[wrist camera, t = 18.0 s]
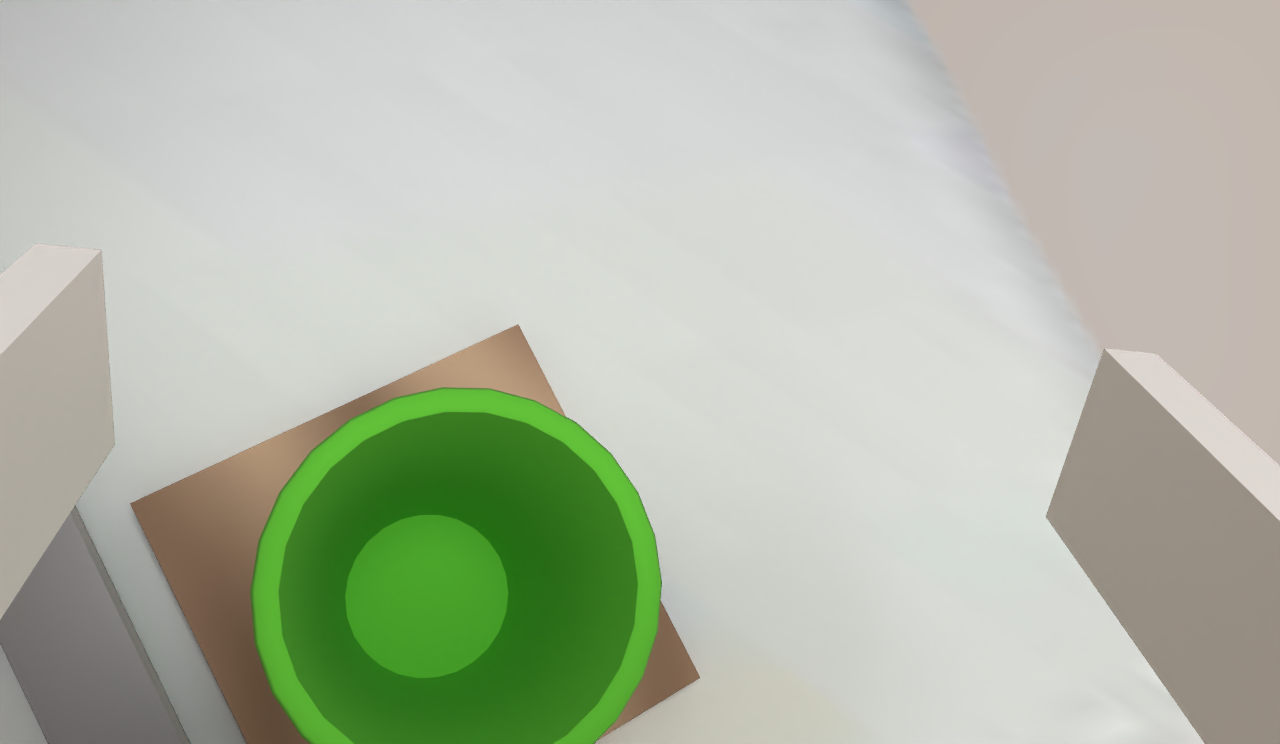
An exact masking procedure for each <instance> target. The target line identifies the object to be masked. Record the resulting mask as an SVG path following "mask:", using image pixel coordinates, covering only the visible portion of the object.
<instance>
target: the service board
mask: <svg viewBox="0 0 1280 744" xmlns="http://www.w3.org/2000/svg"><path fill="white" fill-rule="evenodd" d="M441 387H449V388H490V389H494V390H498V391H501V392H505V393H509V394H513V395H517V396H520V397H524V398H528V399H532V400H535V401H537V402H539V403H541V404H543V405H545V406H547V407H548V408H550V409H552V410H554V411H556V412H558V413H560V414H561V415H563V416H565V414H564V412H563V410H562V408H561V406H560V404H559V402H558V401H557V399H556V397H555V395H554V393H553V391H552V389H551V387H550V385H549V383H548V381H547V379H546V377H545V375H544V373H543V371H542V369H541V368H540V366H539V364H538V362H537V360H536V358H535V356H534V354H533V352H532V350H531V348H530V346H529V344H528V342H527V340H526V338H525V336H524V335H523V333H522V331H521V329H520V327H519V325H516V326H514V327H512V328H509V329H507V330H505V331H503V332H501V333H499V334H496V335H494V336H492V337H490V338H488V339H486V340H483V341H481V342H479V343H477V344H475V345H473V346H470V347H468V348H466V349H464V350H462V351H460V352H457V353H455V354H453V355H451V356H449V357H447V358H444V359H442V360H440V361H438V362H436V363H434V364H431V365H429V366H427V367H425V368H423V369H421V370H418V371H416V372H414V373H412V374H410V375H408V376H405V377H403V378H401V379H399V380H397V381H395V382H392V383H390V384H388V385H386V386H384V387H382V388H379V389H377V390H375V391H373V392H371V393H369V394H366V395H364V396H362V397H360V398H358V399H356V400H353V401H351V402H349V403H347V404H345V405H343V406H340V407H338V408H336V409H334V410H332V411H330V412H327V413H325V414H323V415H321V416H319V417H317V418H314V419H312V420H310V421H308V422H306V423H304V424H301V425H299V426H297V427H295V428H293V429H291V430H288V431H286V432H284V433H282V434H280V435H278V436H275V437H273V438H271V439H269V440H267V441H265V442H262V443H260V444H258V445H256V446H254V447H252V448H249V449H247V450H245V451H243V452H241V453H239V454H236V455H234V456H232V457H230V458H228V459H226V460H223V461H221V462H219V463H217V464H215V465H213V466H210V467H208V468H206V469H204V470H202V471H200V472H197V473H195V474H193V475H191V476H189V477H187V478H184V479H182V480H180V481H178V482H176V483H174V484H171V485H169V486H167V487H165V488H163V489H161V490H158V491H156V492H154V493H152V494H150V495H148V496H145V497H143V498H141V499H139V500H137V501H135V502H132V503H130V504H131V506H132V509H133V511H134V513H135V515H136V517H137V519H138V521H139V523H140V525H141V527H142V529H143V531H144V533H145V535H146V537H147V539H148V541H149V543H150V545H151V547H152V550H153V552H154V554H155V556H156V558H157V560H158V562H159V564H160V566H161V568H162V570H163V572H164V574H165V576H166V578H167V580H168V582H169V584H170V586H171V589H172V591H173V593H174V595H175V597H176V599H177V601H178V603H179V605H180V607H181V609H182V611H183V613H184V615H185V617H186V619H187V621H188V623H189V625H190V627H191V630H192V632H193V634H194V636H195V638H196V640H197V642H198V644H199V646H200V648H201V650H202V652H203V654H204V656H205V658H206V660H207V662H208V664H209V666H210V668H211V671H212V673H213V675H214V677H215V679H216V681H217V683H218V685H219V687H220V689H221V691H222V693H223V695H224V697H225V699H226V701H227V703H228V705H229V707H230V709H231V712H232V714H233V716H234V718H235V720H236V722H237V724H238V726H239V728H240V730H241V732H242V734H243V736H244V738H245V740H246V742H247V744H309V743H308V742H307V741H306V740H305V739H304V738H302V737H301V735H300V734H299V732H298V731H297V729H296V728H295V726H294V725H293V723H292V722H291V720H290V719H289V718H288V716H287V715H286V713H285V712H284V710H283V709H282V707H281V706H280V704H279V703H278V701H277V700H276V699H275V697H274V696H273V694H272V692H271V689H270V686H269V683H268V680H267V678H266V675H265V672H264V669H263V666H262V663H261V661H260V658H259V655H258V652H257V649H256V647H255V642H254V631H253V619H252V607H251V596H250V590H251V584H252V578H253V572H254V566H255V560H256V553H257V547H258V541H259V538H260V536H261V534H262V531H263V529H264V527H265V524H266V522H267V520H268V517H269V515H270V513H271V510H272V508H273V506H274V504H275V501H276V499H277V497H278V494H279V492H280V491H281V489H282V488H283V487H284V486H285V484H286V483H287V482H288V480H289V479H290V478H291V476H292V475H293V474H294V472H295V471H296V470H297V468H298V467H299V466H300V464H301V463H302V462H303V460H304V459H305V458H306V456H307V455H308V454H309V453H310V451H311V450H313V449H314V448H315V447H316V446H317V445H319V444H320V443H321V442H322V441H324V440H325V439H326V438H327V437H329V436H330V435H331V434H332V433H333V432H335V431H336V430H337V429H338V428H340V427H341V426H342V425H343V424H344V423H346V422H347V421H348V420H349V419H351V418H353V417H355V416H357V415H359V414H362V413H364V412H366V411H368V410H370V409H372V408H374V407H376V406H378V405H380V404H382V403H384V402H386V401H389V400H391V399H393V398H395V397H400V396H404V395H409V394H414V393H418V392H423V391H427V390H432V389H437V388H441ZM565 417H566V416H565ZM699 678H700V676H699V674H698V672H697V670H696V668H695V666H694V665H693V663H692V661H691V659H690V657H689V655H688V653H687V651H686V649H685V647H684V645H683V643H682V641H681V639H680V637H679V635H678V633H677V632H676V630H675V628H674V626H673V624H672V622H671V620H670V618H669V616H668V614H667V612H666V610H665V608H664V606H663V604H662V602H661V600H660V611H659V622H658V632H657V635H656V638H655V641H654V644H653V647H652V650H651V653H650V657H649V660H648V663H647V666H646V669H645V672H644V675H643V678H642V680H641V681H640V683H639V685H638V686H637V688H636V690H635V691H634V693H633V695H632V696H631V698H630V700H629V701H628V703H627V704H626V706H625V708H624V709H623V711H622V713H621V714H620V716H619V718H618V719H617V721H616V722H615V723H614V724H613V725H612V726H611V727H610V728H609V729H608V730H607V731H606V732H605V733H604V734H603V735H602V736H601V737H600V738H602V737H603V736H605V735H607V734H608V733H610V732H612V731H613V730H615V729H617V728H618V727H620V726H621V725H623V724H625V723H626V722H628V721H630V720H631V719H633V718H635V717H636V716H638V715H640V714H641V713H643V712H645V711H646V710H648V709H649V708H651V707H653V706H654V705H656V704H658V703H659V702H661V701H663V700H664V699H666V698H668V697H669V696H671V695H673V694H674V693H676V692H677V691H679V690H681V689H682V688H684V687H686V686H687V685H689V684H691V683H692V682H694V681H696V680H697V679H699ZM600 738H599V739H600Z"/></svg>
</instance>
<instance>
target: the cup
mask: <svg viewBox="0 0 1280 744" xmlns="http://www.w3.org/2000/svg"><path fill="white" fill-rule="evenodd" d="M661 587H662V581H661V574H660V567H659V560H658V553H657V546H656V539H655V535H654V532H653V529H652V527H651V524H650V522H649V519H648V517H647V514H646V512H645V509H644V507H643V504H642V501H641V499H640V496H639V494H638V492H637V490H636V489H635V487H634V486H633V484H632V483H631V482H630V480H629V479H628V477H627V476H626V474H625V473H624V471H623V470H622V469H621V467H620V466H619V464H618V463H617V461H616V460H615V458H614V457H613V456H612V454H611V453H610V452H609V451H608V450H606V449H605V448H604V447H603V446H602V445H601V444H600V443H599V442H598V441H596V440H595V439H594V438H593V437H592V436H591V435H590V434H589V433H588V432H586V431H585V430H584V429H583V428H582V427H581V426H580V425H579V424H577V423H576V422H574V421H573V420H571V419H569V418H567V417H565V416H563V415H561V414H560V413H558V412H556V411H554V410H552V409H550V408H548V407H547V406H545V405H543V404H541V403H539V402H537V401H535V400H532V399H528V398H524V397H520V396H517V395H513V394H509V393H505V392H501V391H498V390H494V389H490V388H449V387H441V388H437V389H432V390H427V391H423V392H418V393H414V394H409V395H404V396H400V397H395V398H393V399H391V400H389V401H386V402H384V403H382V404H380V405H378V406H376V407H374V408H372V409H370V410H368V411H366V412H364V413H362V414H359V415H357V416H355V417H353V418H351V419H349V420H348V421H347V422H346V423H344V424H343V425H342V426H341V427H340V428H338V429H337V430H336V431H335V432H333V433H332V434H331V435H330V436H329V437H327V438H326V439H325V440H324V441H322V442H321V443H320V444H319V445H317V446H316V447H315V448H314V449H313V450H311V451H310V453H309V454H308V455H307V456H306V458H305V459H304V460H303V462H302V463H301V464H300V466H299V467H298V468H297V470H296V471H295V472H294V474H293V475H292V476H291V478H290V479H289V480H288V482H287V483H286V484H285V486H284V487H283V488H282V489H281V491H280V492H279V494H278V497H277V499H276V501H275V504H274V506H273V508H272V510H271V513H270V515H269V517H268V520H267V522H266V524H265V527H264V529H263V531H262V534H261V536H260V538H259V541H258V547H257V553H256V560H255V566H254V572H253V578H252V584H251V590H250V596H251V607H252V619H253V631H254V642H255V647H256V649H257V652H258V655H259V658H260V661H261V663H262V666H263V669H264V672H265V675H266V678H267V680H268V683H269V686H270V689H271V692H272V694H273V696H274V697H275V699H276V700H277V701H278V703H279V704H280V706H281V707H282V709H283V710H284V712H285V713H286V715H287V716H288V718H289V719H290V720H291V722H292V723H293V725H294V726H295V728H296V729H297V731H298V732H299V734H300V735H301V737H302V738H304V739H305V740H306V741H307V742H308V743H309V744H594V743H595V742H596V741H597V740H598V739H599V738H600V737H601V736H602V735H603V734H604V733H605V732H606V731H607V730H608V729H609V728H610V727H611V726H612V725H613V724H614V723H615V722H616V721H617V719H618V718H619V716H620V714H621V713H622V711H623V709H624V708H625V706H626V704H627V703H628V701H629V700H630V698H631V696H632V695H633V693H634V691H635V690H636V688H637V686H638V685H639V683H640V681H641V680H642V678H643V675H644V672H645V669H646V666H647V663H648V660H649V657H650V653H651V650H652V647H653V644H654V641H655V638H656V635H657V632H658V622H659V611H660V599H661Z"/></svg>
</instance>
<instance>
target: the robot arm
mask: <svg viewBox="0 0 1280 744" xmlns="http://www.w3.org/2000/svg"><path fill="white" fill-rule="evenodd" d="M114 445H115V441H114V426H113V411H112V397H111V382H110V367H109V353H108V338H107V324H106V309H105V294H104V280H103V265H102V251H101V250H98V249H87V248H77V247H67V246H57V245H47V244H37V243H35V244H34V245H33V246H32V247H31V248H30V249H29V250H27V251H26V252H25V253H24V254H23V255H22V256H21V257H20V258H18V259H17V260H16V261H15V262H14V263H13V264H12V265H11V266H9V267H8V268H7V269H6V270H5V271H4V272H3V273H2V274H0V619H1V618H2V616H3V615H4V613H5V612H6V610H7V609H8V607H9V606H10V604H11V602H12V601H13V599H14V598H15V596H16V595H17V593H18V592H19V590H20V589H21V587H22V586H23V584H24V583H25V581H26V580H27V578H28V576H29V575H30V573H31V572H32V570H33V569H34V567H35V566H36V564H37V563H38V561H39V560H40V558H41V557H42V555H43V553H44V552H45V550H46V549H47V547H48V546H49V544H50V543H51V541H52V540H53V538H54V537H55V535H56V534H57V532H58V531H59V529H60V527H61V526H62V524H63V523H64V521H65V520H66V518H67V517H68V515H69V514H70V512H71V511H72V509H73V508H74V506H75V504H76V503H77V501H78V500H79V498H80V497H81V495H82V494H83V492H84V491H85V489H86V488H87V486H88V485H89V483H90V482H91V480H92V478H93V477H94V475H95V474H96V472H97V471H98V469H99V468H100V466H101V465H102V463H103V462H104V460H105V459H106V457H107V456H108V454H109V452H110V451H111V449H112V448H113V446H114ZM1046 518H1047V519H1048V520H1049V522H1050V523H1051V525H1052V526H1053V528H1054V529H1055V530H1056V532H1057V533H1058V535H1059V536H1060V538H1061V539H1062V540H1063V542H1064V543H1065V545H1066V546H1067V548H1068V549H1069V550H1070V552H1071V553H1072V555H1073V556H1074V558H1075V559H1076V560H1077V562H1078V563H1079V565H1080V566H1081V568H1082V569H1083V570H1084V572H1085V573H1086V575H1087V576H1088V578H1089V579H1090V580H1091V582H1092V583H1093V585H1094V586H1095V587H1096V589H1097V590H1098V592H1099V593H1100V595H1101V596H1102V597H1103V599H1104V600H1105V602H1106V603H1107V605H1108V606H1109V607H1110V609H1111V610H1112V612H1113V613H1114V615H1115V616H1116V617H1117V619H1118V620H1119V622H1120V623H1121V625H1122V626H1123V627H1124V629H1125V630H1126V632H1127V633H1128V635H1129V636H1130V637H1131V639H1132V640H1133V642H1134V643H1135V645H1136V646H1137V647H1138V649H1139V650H1140V652H1141V653H1142V655H1143V656H1144V657H1145V659H1146V660H1147V662H1148V663H1149V665H1150V666H1151V667H1152V669H1153V670H1154V672H1155V673H1156V675H1157V676H1158V677H1159V679H1160V680H1161V682H1162V683H1163V685H1164V686H1165V687H1166V689H1167V690H1168V692H1169V693H1170V695H1171V696H1172V697H1173V699H1174V700H1175V702H1176V703H1177V705H1178V706H1179V707H1180V709H1181V710H1182V712H1183V713H1184V715H1185V716H1186V717H1187V719H1188V720H1189V722H1190V723H1191V725H1192V726H1193V727H1194V729H1195V730H1196V732H1197V733H1198V734H1199V736H1200V737H1201V739H1202V740H1203V742H1204V743H1205V744H1280V466H1279V465H1278V464H1277V463H1276V462H1275V461H1274V460H1273V459H1271V458H1270V457H1269V456H1268V455H1267V454H1266V453H1265V452H1264V451H1263V450H1261V449H1260V448H1259V447H1258V446H1257V445H1256V444H1255V443H1254V442H1253V441H1252V440H1251V439H1249V438H1248V437H1247V436H1246V435H1245V434H1244V433H1243V432H1242V431H1241V430H1239V429H1238V428H1237V427H1236V426H1235V425H1234V424H1233V423H1232V422H1231V421H1230V420H1228V419H1227V418H1226V417H1225V416H1224V415H1223V414H1222V413H1221V412H1220V411H1219V410H1217V409H1216V408H1215V407H1214V406H1213V405H1212V404H1211V403H1210V402H1209V401H1208V400H1206V399H1205V398H1204V397H1203V396H1202V395H1201V394H1200V393H1198V391H1197V390H1195V389H1194V388H1193V387H1192V386H1191V385H1190V384H1188V382H1186V380H1184V379H1183V378H1182V377H1181V376H1180V375H1179V374H1178V373H1177V372H1176V371H1175V370H1173V369H1172V368H1171V367H1170V366H1169V365H1168V364H1167V363H1166V362H1165V361H1164V360H1162V359H1161V358H1160V357H1159V356H1158V355H1157V354H1154V353H1144V352H1134V351H1124V350H1114V349H1104V350H1103V353H1102V356H1101V359H1100V362H1099V365H1098V368H1097V370H1096V373H1095V376H1094V379H1093V382H1092V385H1091V388H1090V391H1089V394H1088V396H1087V399H1086V402H1085V405H1084V408H1083V411H1082V414H1081V417H1080V419H1079V422H1078V425H1077V428H1076V431H1075V434H1074V437H1073V440H1072V443H1071V445H1070V448H1069V451H1068V454H1067V457H1066V460H1065V463H1064V466H1063V468H1062V471H1061V474H1060V477H1059V480H1058V483H1057V486H1056V489H1055V492H1054V494H1053V497H1052V500H1051V503H1050V506H1049V509H1048V512H1047V515H1046Z"/></svg>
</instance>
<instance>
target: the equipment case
mask: <svg viewBox="0 0 1280 744" xmlns="http://www.w3.org/2000/svg"><path fill="white" fill-rule="evenodd" d="M0 643H1V645H2V648H3V650H4V652H5V654H6V656H7V658H8V660H9V662H10V664H11V666H12V669H13V671H14V673H15V675H16V677H17V679H18V681H19V683H20V685H21V687H22V690H23V692H24V694H25V696H26V698H27V700H28V702H29V704H30V706H31V708H32V711H33V713H34V715H35V717H36V719H37V721H38V723H39V725H40V727H41V729H42V732H43V734H44V736H45V738H46V740H47V742H48V744H190V742H189V740H188V738H187V736H186V734H185V732H184V730H183V728H182V726H181V724H180V722H179V720H178V717H177V715H176V713H175V711H174V709H173V707H172V705H171V703H170V701H169V699H168V697H167V695H166V693H165V691H164V689H163V687H162V684H161V682H160V680H159V678H158V676H157V674H156V672H155V670H154V668H153V666H152V664H151V662H150V660H149V658H148V656H147V653H146V651H145V649H144V647H143V645H142V643H141V641H140V639H139V637H138V635H137V633H136V631H135V629H134V627H133V625H132V623H131V620H130V618H129V616H128V614H127V612H126V610H125V608H124V606H123V604H122V602H121V600H120V598H119V596H118V594H117V592H116V589H115V587H114V585H113V583H112V581H111V579H110V577H109V575H108V573H107V571H106V569H105V567H104V565H103V563H102V561H101V559H100V556H99V554H98V552H97V550H96V548H95V546H94V544H93V542H92V540H91V538H90V536H89V534H88V532H87V530H86V528H85V525H84V523H83V521H82V519H81V517H80V515H79V513H78V511H77V509H76V507H75V506H74V508H73V509H72V511H71V512H70V514H69V515H68V517H67V518H66V520H65V521H64V523H63V524H62V526H61V527H60V529H59V531H58V532H57V534H56V535H55V537H54V538H53V540H52V541H51V543H50V544H49V546H48V547H47V549H46V550H45V552H44V553H43V555H42V557H41V558H40V560H39V561H38V563H37V564H36V566H35V567H34V569H33V570H32V572H31V573H30V575H29V576H28V578H27V580H26V581H25V583H24V584H23V586H22V587H21V589H20V590H19V592H18V593H17V595H16V596H15V598H14V599H13V601H12V602H11V604H10V606H9V607H8V609H7V610H6V612H5V613H4V615H3V616H2V618H1V619H0Z"/></svg>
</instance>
